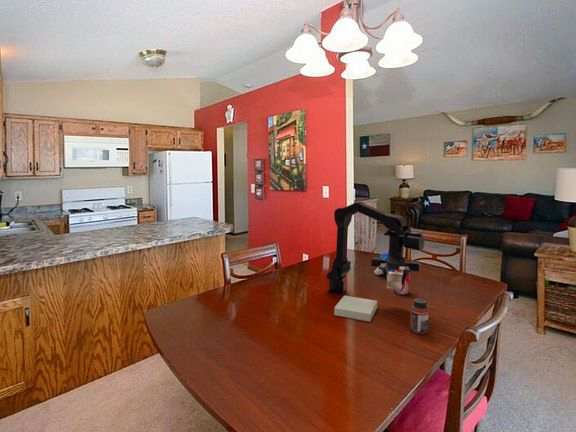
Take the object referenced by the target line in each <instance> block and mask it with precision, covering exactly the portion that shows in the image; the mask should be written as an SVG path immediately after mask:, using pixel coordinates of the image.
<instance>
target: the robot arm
mask: <svg viewBox="0 0 576 432" xmlns="http://www.w3.org/2000/svg"><path fill="white" fill-rule="evenodd" d="M357 213H359V214H362V215H364V216H367V217H369V218H371V219H373V220H375V221H377V222H379V223H380V224H382V225H383V226H384V227H385V228H387V231H386V232H384V233H383V235H384V236H388V253H389V254H388V257H387V260H383V258H382V257H380V256H374V257H373V258H372V259H371V260H370V261H371V263H370V266H371V267H375V268H379V269H381V270H382V271H383V274H382V275H383V276H384V279H385V283H386V284H387V274H388V269H395V270H399V269H400V267H404V270H403V277H402V285H403V283H404V280H405V278H406V276H407V274H408V272H410V273H412V271H413V272H420V270H421V262H420V261H419V260H409V262H407V261H406V257H404V248H405V249H407V250H413V251H419V252H422V251H423V250H424V247H425V239H424V236H423V233H422V232H413V231H412V230H411V228H410V227H409V225H408V224H407V219H406V218H405V217H404V216H402V215H399V214H395V213H388V212H385V211H382V210H380V209H378V208H375V207H373V206H372V205H371V206H370V205H368V204H367V203H364V202H363V201H356V202H353V203H352V204H349V205H346V206H344V207H338V208H336V209H335V210H334V213H333V216H334V218H333V219H334V223H335V225H336V247H335V257H334V260H333V262H332V264H331V270H330V271H329V272H328V273H327V274H326V278H327V280H328V281H329V282H328V284H329V286H328V290H327V291H328V293H335V294H342V293H344V291H345V290H346V281H345V277H347V275H348V274H349V272H350V270H352V269H351V264H352V261H351V260H348V257H347V255H348V254H347V253H348V238H349V237H348V235H349V227H350V224H351V223H352V220H353V219H352V218H353V215H355V214H356V215H357Z"/></svg>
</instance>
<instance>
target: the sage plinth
mask: <svg viewBox="0 0 576 432" xmlns="http://www.w3.org/2000/svg"><path fill="white" fill-rule="evenodd" d="M377 309H378V300H374V299H369V298H361V297H356V296H350V295H349V296H348V295H343V296H342V298H341V299H340V300H339V302H338V303H337V304H336V305H335V306H334V309H333V310H334V313H333V315H334V316H338V317H343V318H349V319H354V320H358V321H363V322H364V321H365V322H370V323H371V322H372V319H373V317H374V315H375V313H376V311H377Z"/></svg>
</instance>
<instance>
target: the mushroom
mask: <svg viewBox="0 0 576 432" xmlns="http://www.w3.org/2000/svg"><path fill="white" fill-rule="evenodd" d="M388 254H389V252H383V253H381V254H380V255H379V257H382V258H383V260H387V257H388ZM394 270H395V269H388V273H389V272H394ZM373 272H374V274H375V275H376V276H381V275H384V274H383V271H382V270H381V269H379V268H378V267H376V269H375V270H374V271H373Z"/></svg>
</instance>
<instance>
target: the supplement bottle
mask: <svg viewBox="0 0 576 432" xmlns="http://www.w3.org/2000/svg"><path fill="white" fill-rule="evenodd" d="M413 300H414V301H413V303H412V305H411V307H410V317H409V318H410V321H409V330H410V331H411V332H413V333H414V334H418V335H425V334H427V333H428V331H429V319H430V318H429V317H430V308H429V307H428V306H427V300H426V299H424V298H414V299H413Z"/></svg>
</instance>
